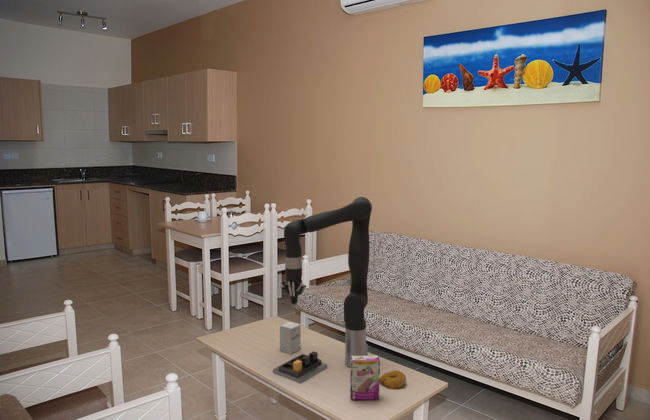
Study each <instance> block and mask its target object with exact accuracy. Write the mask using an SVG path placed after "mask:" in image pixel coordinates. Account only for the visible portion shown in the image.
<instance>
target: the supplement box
mask: <svg viewBox="0 0 650 420" xmlns="http://www.w3.org/2000/svg"><path fill="white" fill-rule="evenodd" d="M301 328H302V327H301V324H300V323H296V322H293V321H287V322H286V323H283V324H281V325H279V350H280V352H281V351H282V352H284V353H286V354H289V355H291V354H293V353H295V352H297V351H300V350H301V346H302V345H301V344H302V343H301V342H302V341H301V338H302V335H301V333H302V332H301Z"/></svg>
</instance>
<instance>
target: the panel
mask: <svg viewBox="0 0 650 420" xmlns="http://www.w3.org/2000/svg"><path fill="white" fill-rule="evenodd" d="M296 360H299V361H302V370H301V371H299V372H295V371H293V362H295V361H296ZM327 368H328V364H327V363H324V362H322V359H320V358H319V355H318V351H311V352H309V354H304V353H302V354H299V355H297V356H295V357H293V358H291V359H290V360H287V361H286V362H283V363H281V364H280V365H278V366H276V367H275V368H272V374H276V375H278V376H280V377H284V378H287V379H289V380H291V381H294V382H296V383H299V384H303V383H304V382H306V381H308V380H309V379H311V378H312V377H314V376H316V375H318V374H319V373H321V372H323V371H324V370H325V369H327Z"/></svg>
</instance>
